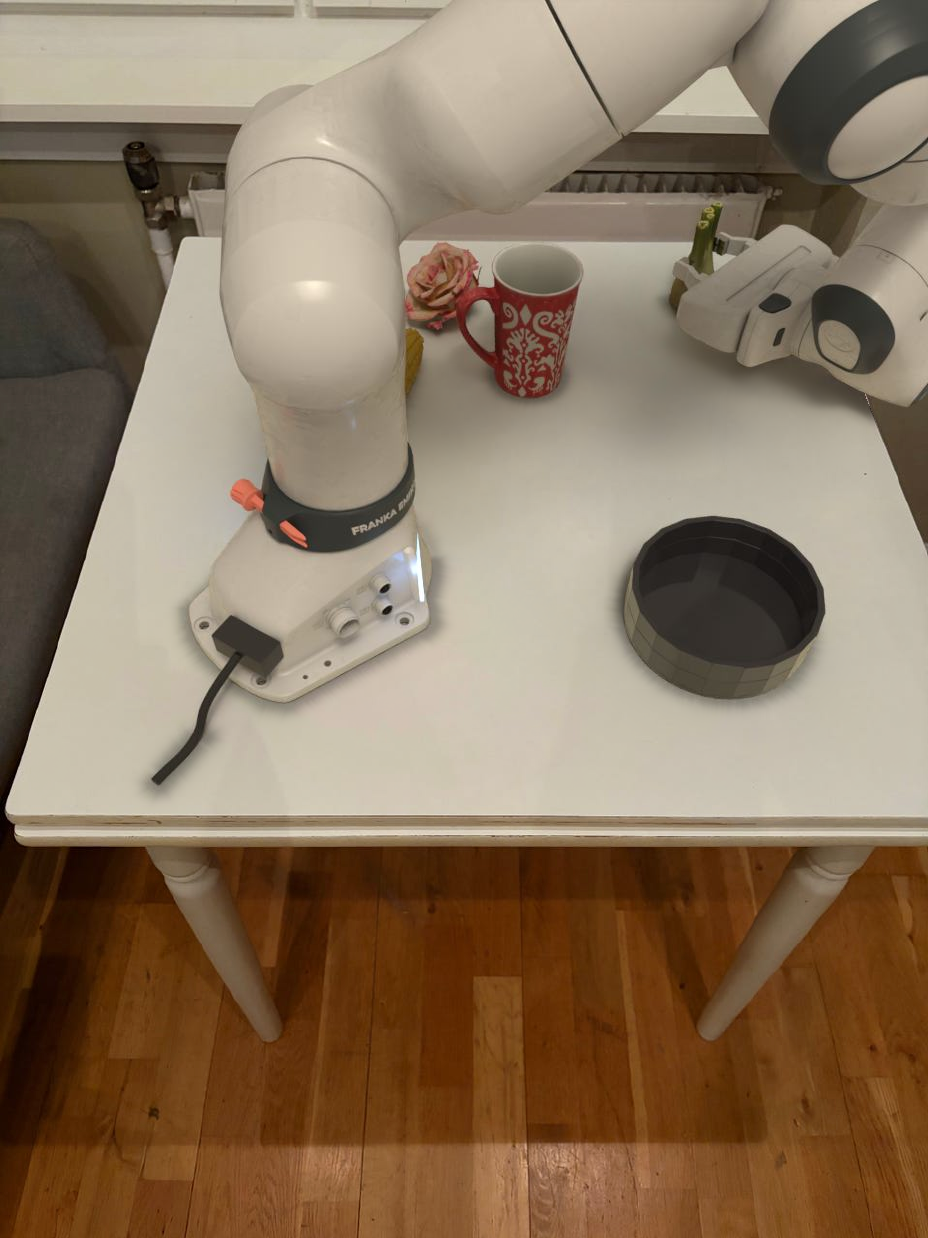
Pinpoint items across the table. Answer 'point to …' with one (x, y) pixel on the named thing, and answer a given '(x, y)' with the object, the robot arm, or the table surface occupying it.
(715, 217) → the fennel bulb
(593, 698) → the table surface
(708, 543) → the pan
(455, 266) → the flower
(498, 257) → the mug
